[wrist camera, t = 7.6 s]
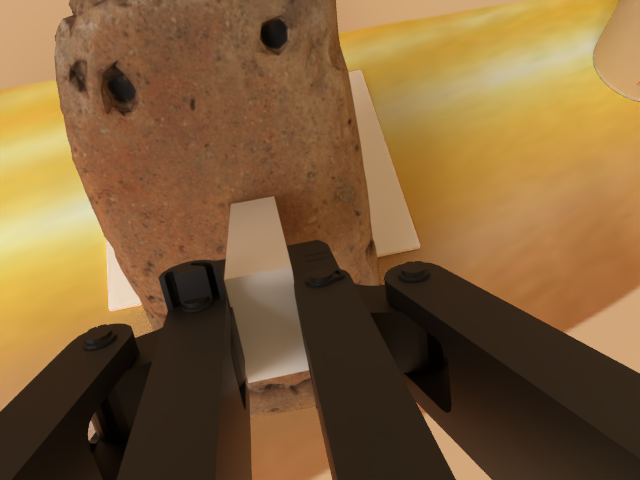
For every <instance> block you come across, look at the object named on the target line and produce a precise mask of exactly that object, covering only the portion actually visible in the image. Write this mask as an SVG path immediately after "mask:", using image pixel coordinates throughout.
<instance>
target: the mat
mask: <svg viewBox="0 0 640 480" xmlns="http://www.w3.org/2000/svg"><path fill="white" fill-rule="evenodd" d="M348 73H349V79H350V84H351V90H352V96H353V102H354V107H355V113H356V119H357V125H358V131H359V137H360V143H361V149H362V157H363V165H364V171H365V176H366V182H367V189H368V197H369V206H370V218H371V228H372V235H373V240H374V242H375V247H376V252H377V257H381V256H386V255H391V254H396V253H401V252H406V251H411V250H416V249H420V247H421V245H420V243H419V240H418V237H417V234H416V231H415V228H414V225H413V222H412V219H411V216H410V213H409V210H408V207H407V204H406V201H405V198H404V195H403V192H402V189H401V186H400V183H399V180H398V177H397V174H396V171H395V168H394V165H393V162H392V159H391V156H390V153H389V150H388V147H387V144H386V142H385V139H384V136H383V133H382V130H381V127H380V124H379V121H378V118H377V115H376V112H375V109H374V106H373V103H372V100H371V97H370V94H369V91H368V88H367V85H366V82H365V79H364V76H363V73H362V70H356V71H350V72H348ZM106 250H107V279H108V307H109V310H110V311H115V310H120V309H125V308H130V307H135V306H140V305H142V303H141V301H140V299H139V297H138V295H137V294H136V293H135V291H134V290H133V288H132V287H131V285H130V283H129V282H128V280H127V278H126V277H125V275H124V273H123V272H122V270H121V268H120V266H119V264H118V262H117V259H116V257H115V253H114V249H113V248H112V246H111V245H110V243H109V242H108V240H107V239H106Z"/></svg>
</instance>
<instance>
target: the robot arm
mask: <svg viewBox="0 0 640 480" xmlns="http://www.w3.org/2000/svg"><path fill="white" fill-rule="evenodd" d="M158 278H159V282H160V285H161V289H162V292H163V296H164V299H165V303H166V306H167V310H168V312H167V315H166V319H165V322H164V325H163V327H162V328H160V329H158V330H155V331H153V332H151V333H148V334H145V335H142V336H139V337H137V338H135V337H134V334H133V331H132V328H131V326H129V325H126V324H110V325H106V324H105V325H100V326H98V328H97V327H94V328H92V329H90V330H88V332H86V333H84V334H82V335H80V336H78V337H77V338H76V339H75V340H73V341H72V342H71V343H70V344H69V345H68V346H67V347H66V348H65V349H64V350H62V351H61V352H60V353H59V354H58V355H57V356H56V357H55V358H54V359H53V360H52V361H51V362H50V363H49V364H48V365H47V366H46V367H45V368H44V369H43V370H42V371H41V372H40V373H39V374H38V375H37V376H36V377H35V378H34V379H33V380H32V381H31V382H30V383H29V384H28V385H27V386H26V387H25V388H24V389H23V390H22V391H21V392H20V393H19V394H18V395H17V396H16V397H15V398H14V399H13V400H12V401H11V402H10V403H9V404H8V405H7V406H6V407H5V408H4V409H3V410H2V411H1V412H0V480H252V473H251V433H250V395H249V391H248V387H247V383H246V378H245V370H246V374H247V379H248V383H252V382H256V381H261V380H266V379H270V378H275V377H280V376H284V375H289V374H294V373H298V372H303V371H307V370H309V372H310V377H311V382H312V388H313V393H314V399H315V404H316V409H317V410H318V415H319V420H320V424H321V429H322V433H323V438H324V443H325V447H326V452H327V457H328V461H329V466H330V471H331V475H332V480H456V479H455V477H454V475H453V474H452V471H451V470H450V468H449V466H448V464H447V462H446V460H445V458H444V456H443V454H442V452H441V450H440V448H439V446H438V444H437V442H436V440H435V439H434V437H433V435H432V433H431V431H430V429H429V427H428V425H427V423H426V421H425V419H424V417H423V415H422V413H421V411H420V409H419V407H418V405H417V404H416V402H417V403H418V404H419V405H420V406H421V407H422V408H423V409H424V410H425V411H426V412H427V413H428V414H429V415H430V417H431V418H433V420H434V421H436V422H437V424H438V425H439V426H440V427H441V428H442V429H443V430H444V431H445V432H446V433H447V434H448V435H449V436H450V437H451V438H452V439H453V440H454V441H455V442H456V443H457V444H458V445H459V446H460V447H461V448H462V449H463V450H464V451H465V452H466V453H467V454H468V455H469V456H470V457H471V459H472V460H474V461H475V463H476V464H477V465H478V466H479V467H480V468H481V469H482V470H483V471H484V472H485V473H486V474H487V475H488V476H489V477H490V478H491V479H492V480H640V373H638V372H636V371H634V370H632V369H630V368H628V367H627V366H625V365H623V364H621V363H619V362H617V361H615V360H613V359H611V358H610V357H608V356H606V355H604V354H602V353H600V352H598V351H597V350H595V349H593V348H591V347H589V346H587V345H585V344H584V343H582V342H580V341H578V340H576V339H574V338H572V337H571V336H569V335H567V334H565V333H563V332H561V331H559V330H558V329H556V328H554V327H552V326H550V325H548V324H546V323H545V322H543V321H541V320H539V319H537V318H535V317H533V316H531V315H530V314H528V313H526V312H524V311H522V310H520V309H518V308H517V307H515V306H513V305H511V304H509V303H507V302H505V301H503V300H502V299H500V298H498V297H496V296H494V295H492V294H490V293H489V292H487V291H485V290H483V289H481V288H479V287H477V286H476V285H474V284H472V283H470V282H468V281H466V280H464V279H462V278H461V277H459V276H457V275H455V274H453V273H451V272H449V271H448V270H446V269H444V268H442V267H440V266H437V265H435V264H432V263H424V262H421V261H415V263H413V262H407V263H405V264H402V265H398V266H396V267H393V268H391V269H390V270H389V271H387V272H386V273H385V277H384V280H385V285H375V286H367V285H358V284H355V283H354V281H353V279H352V278H351V276H350V274H349V273H348V272H347V271H346V270H342V269H340V268H339V266H338V264H337V262H336V260H335V258H334V256H333V254H332V252H331V249H330V247H329V245H328V244H327V243H324V242H322V241H320V240H313V241H308V242H303V243H298V244H293V245H287V246H286V243H285V239H284V235H283V230H282V226H281V222H280V218H279V214H278V210H277V206H276V202H275V198H274V196H273V197H267V198H262V199H256V200H251V201H245V202H240V203H234V204H231V208H230V219H229V230H228V241H227V253H226V259H222V260H216V261H212V260H195V261H189V262H185V263H181V264H179V265H176V266H174V267H171V268H169V269H168V270H166V271H164V272H163V273H162V274H161V275H160V276H159V277H158ZM415 401H416V402H415ZM90 421H92V423H93V426H94V428H95V431H96V433H95V434H94V435H93V437H92V438H91V440H90V441H89V440H88V428H89V423H90Z"/></svg>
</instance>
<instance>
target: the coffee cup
mask: <svg viewBox="0 0 640 480" xmlns="http://www.w3.org/2000/svg"><path fill="white" fill-rule="evenodd" d="M593 62H594V66H595V69H596V71H597V73H598V75H599V76H600V78H601V79H602V80H603V81H604V82H605V84H607V85H608V86H609V87H610V88H611V89H613V90H614V91H616V92H617V93H619V94H621V95H623V96H624V97H627V98H629V99H632V100H635V101H639V102H640V0H620V1H619V3H618V5H617V6H616V8H615V10H614V12H613V14H612V16H611V18H610V20H609V21H608V23H607V25H606V27H605V29H604V31H603V33H602V35H601V37H600V39H599V41H598V43H597V45H596V47H595V50H594V55H593Z"/></svg>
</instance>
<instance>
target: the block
mask: <svg viewBox="0 0 640 480" xmlns="http://www.w3.org/2000/svg"><path fill="white" fill-rule="evenodd" d="M69 6H70V7H71V9H72V13H73V14H74V15H73V16H70V17H67V18H64V19H63V20H62V21H61V23H60V25H59V26H58V29H57V32H56V35H55V41H56V49H55V68H56V81H57V86H58V92H59V98H60V107H61V111H62V113H63V115H64V120H65V126H66V132H67V137H68V141H69V143H70V146H71V152H72V159H73V161H74V164H75V166H76V169H77V171H78V173H79V176H80V178H81V180H82V183H83V186H84V188H85V191H86V194H87V196H88V198H89V201H90V203H91V206H92V208H93V210H94V212H95V214H96V216H97V219H98V221H99V224H100V226H101V228H102V231H103V233H104V236H105V237H106V239H107V240H108V242H109V243H110V245H111V246H112V248H113V249H114V253H115V257H116V259H117V262H118V264H119V266H120V268H121V270H122V272H123V273H124V275H125V277H126V278H127V280H128V282H129V283H130V285H131V287H132V288H133V290H134V291H135V293H136V294H137V295H138V297H139V299H140V301H141V303H142V305H143V308H144V310H145V312H146V315H147V317H148V319H149V321H150V323H151V325H152V328H153V331H155V330H158V329H160V328H162V327H163V325H164V322H165V319H166V315H167V312H168V310H167V306H166V303H165V299H164V296H163V292H162V289H161V285H160V282H159V278H158V277H159V276H160V275H161V274H162V273H163V272H164V271H166V270H168V269H169V268H171V267H174V266H176V265H179V264H181V263H185V262H189V261H195V260H212V261H216V260H222V259H226V253H227V241H228V230H229V219H230V208H231V204H234V203H240V202H245V201H251V200H256V199H262V198H267V197H273V196H274V198H275V202H276V206H277V210H278V214H279V218H280V222H281V226H282V230H283V235H284V239H285V243H286V246H287V245H293V244H298V243H303V242H308V241H313V240H320V241H322V242H324V243H327V244H328V245H329V247H330V249H331V252H332V254H333V256H334V258H335V260H336V262H337V264H338V266H339V268H340V269H342V270H346V271H347V272H348V273H349V274H350V276H351V278H352V279H353V281H354V283H355V284H358V285H367V286H375V285H380V278H379V269H378V260H377V252H376V247H375V242H374V240H373V235H372V228H371V218H370V206H369V197H368V189H367V182H366V176H365V171H364V165H363V157H362V149H361V143H360V137H359V131H358V125H357V119H356V113H355V107H354V102H353V96H352V90H351V84H350V79H349V73H348V70H347V67H346V64H345V61H344V57H343V54H342V51H341V47H340V42H339V35H338V25H337V12H336V0H70V2H69ZM245 378H246V383H247V387H248V391H249V395H250V416H255V417H257V416H265V415H272V414H277V413H281V412H286V411H292V410H297V409H303V408H309V407H313V406H316V404H315V399H314V393H313V388H312V382H311V377H310V372H309V370H307V371H303V372H298V373H294V374H289V375H284V376H280V377H275V378H270V379H266V380H261V381H256V382H252V383H248V379H247V374H246V370H245Z"/></svg>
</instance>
